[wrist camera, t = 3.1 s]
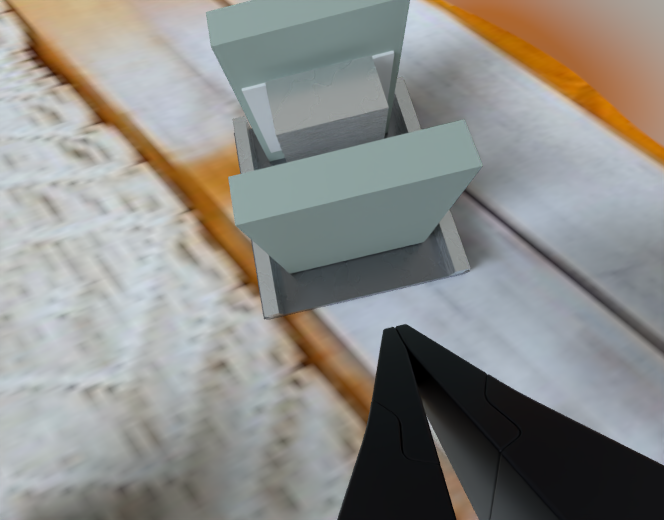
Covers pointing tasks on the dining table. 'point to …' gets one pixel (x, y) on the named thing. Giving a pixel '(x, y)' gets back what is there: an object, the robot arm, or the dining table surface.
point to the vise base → (359, 273)
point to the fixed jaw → (302, 47)
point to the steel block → (328, 108)
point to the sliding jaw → (355, 197)
